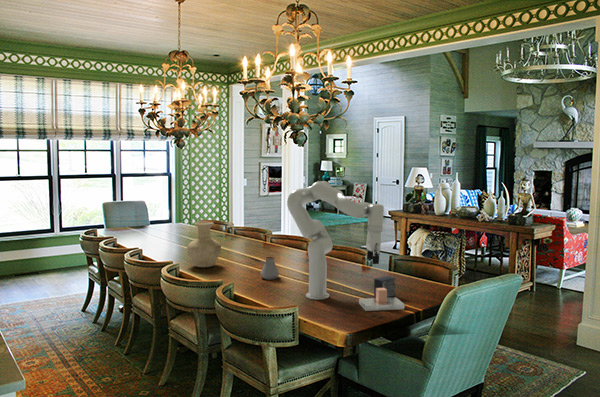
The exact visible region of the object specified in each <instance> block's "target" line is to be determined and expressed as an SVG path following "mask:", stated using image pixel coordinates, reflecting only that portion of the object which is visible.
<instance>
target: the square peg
mask: <svg viewBox="0 0 600 397" xmlns="http://www.w3.org/2000/svg"><path fill="white" fill-rule="evenodd" d="M376 303H377V304H382V303H387V290H386V289H385V288H376Z"/></svg>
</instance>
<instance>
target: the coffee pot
mask: <svg viewBox="0 0 600 397" xmlns="http://www.w3.org/2000/svg"><path fill="white" fill-rule="evenodd" d="M264 259H265V261H262V260H260V259H257V258H254V257H249V258H248V261H250V260H251V261H255V262H258V263H262V264H263V267H262V268H261V271H260V277H262V278H263V279H264V280H268V281H269V280H272V281H273V280H276V279H277V278H278V277H279V275H280V272H279V269H278V267H277V265H276V263H275V259H276V257H274V256H265V257H264Z"/></svg>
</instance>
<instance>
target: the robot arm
mask: <svg viewBox="0 0 600 397" xmlns="http://www.w3.org/2000/svg"><path fill="white" fill-rule="evenodd" d="M317 200H321V201H322V202H326V203H327V204H330V205H332V206H334V207H335V208H336V209H338V210H339V211H340V212H341V213H343V214H345V215H348V216H350V217H352V218H354V219H362V218H365V217H367V236H366V244H365V248H366V249H367V253H366V259H367V260H372V264H373V265H379V264H380V253H381V244H382V240H381V239H382V236H381V235H382V233H383V227H384V224H383V223H384V213H385V211H384V210H385V207H384V205H383V204H380V203H371V202H366V201H361V202H355V201H354V200H351V199H349V198H347V197H346V196H345V195H344V192H343V191H341V190H339V189H337V188H335V187H333V186H332V185H331V183H329V182H328V181H325V180H319V181H316V182H314V183H312V185H311V186H308V187H305V188H297V189H294V190H293V191H291V192H290V194H289V195H288V197H287V201H286V202H287V203H286V205H287V209H288V211H289V213H290V215H291V217H292V218H293V220H294V222H295V224H296V226H297V228H298V230H299V232H300V233H301V235H302V237H303V238H305V239H312V240H311V241H310V242H309V243H308V246H307V255H308V292H307V293H305V297H306V298H307V299H310V300H316V301H317V300H318V301H319V300H326V299H329V297H330V294H329V293H328V292H327V279H328V278H327V277H328V276H327V257H326V254H328V253H330V252H332V250H333V246H334V245H333V241H332V238H331V236H330V234H329V233H328V231H327V229H326V227H325V225H324V224H323V222H321V221H320V220H318V219H315V218H314V219H312V217H311V216H310V214H309V212H308V210H307V209H306V208H305V207H304V205H306V204H310V203H312V202H315V201H317Z"/></svg>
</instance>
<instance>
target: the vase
mask: <svg viewBox="0 0 600 397" xmlns="http://www.w3.org/2000/svg"><path fill="white" fill-rule="evenodd" d="M214 224H215V223H214V222H212V221H197V222H194V227H197V238H195V239H194V240H191V241H190V242H189V243H188V245H187V248H186V249H187V254H188V256H189V258H190V260H191V261H192V265H193V266H194V267H195V268H196V267H197V268H210V267H214V266H215V265H216V263H217V260H218V259H219V257H220V254H221V251H222V245H221V243H220V242H219V241H217V240H216V239H213V238H212V237H211V228H212V227H213V226H214Z"/></svg>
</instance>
